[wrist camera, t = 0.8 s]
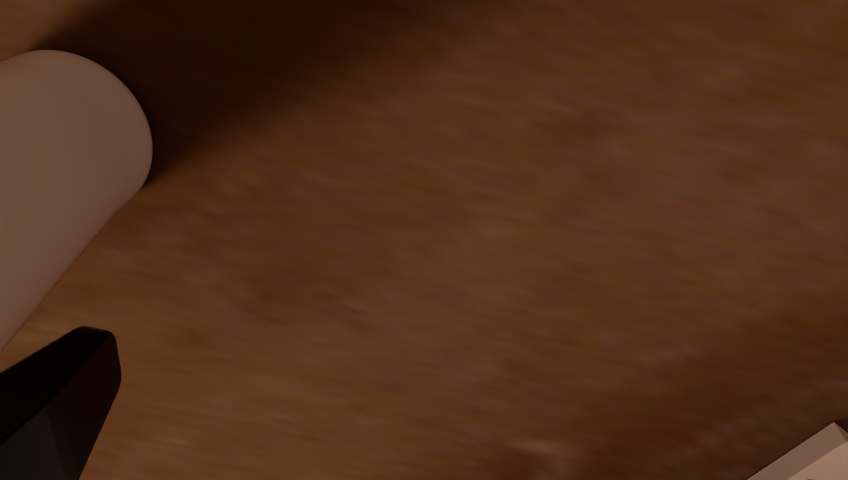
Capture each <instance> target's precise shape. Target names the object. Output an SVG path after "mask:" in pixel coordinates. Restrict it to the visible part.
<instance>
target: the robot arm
mask: <svg viewBox="0 0 848 480" xmlns="http://www.w3.org/2000/svg"><path fill="white" fill-rule="evenodd" d="M120 383H121V367H120V361H119V355H118V349H117V343H116V339H115V336H114V335H113V333H112V332H110V331H107V330H102V329H98V328H93V327H88V326H81V327H78V328H75V329H73V330H72V331H70V332H68V333H67V334H65V335H63V336H62V337H60V338H58V339H56V340H55V341H53V342H51V343H50V344H48V345H46V346H45V347H43V348H41V349H39V350H38V351H36V352H34V353H33V354H31V355H29V356H28V357H26V358H24V359H23V360H21V361H19V362H17V363H16V364H14V365H12V366H11V367H9V368H7V369H6V370H4V371H2V372H0V480H79V478H80V476H81V474H82V471H83V469H84V467H85V465H86V462H87V460H88V458H89V456H90V453H91V451H92V449H93V447H94V444H95V442H96V440H97V438H98V435H99V433H100V431H101V429H102V426H103V424H104V422H105V420H106V417H107V415H108V413H109V411H110V408H111V406H112V404H113V402H114V399H115V397H116V395H117V392H118V390H119V387H120ZM808 480H813V479H808Z"/></svg>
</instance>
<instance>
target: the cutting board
mask: <svg viewBox="0 0 848 480" xmlns="http://www.w3.org/2000/svg"><path fill="white" fill-rule="evenodd" d="M808 479H813V480H848V433H847V432H846V431H844V430H843V429H842V428H841V427H839V426H838V425H837V424H836V423H834V422H833V423H831V424H830V425H828V426H827V427H825V428H824V429H822V430H821V431H819V432H818V433H816V434H815V435H813V436H812V437H810V438H809V439H807V440H806V441H804V442H803V443H801V444H800V445H798V446H797V447H795V448H794V449H792V450H791V451H789V452H788V453H786V454H785V455H783V456H782V457H780V458H779V459H777V460H776V461H774V462H773V463H771V464H770V465H768V466H767V467H765V468H764V469H762V470H761V471H759V472H758V473H756V474H755V475H753V476H752V477H750V478H749V479H747V480H808Z"/></svg>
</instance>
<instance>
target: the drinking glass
mask: <svg viewBox="0 0 848 480" xmlns="http://www.w3.org/2000/svg"><path fill="white" fill-rule="evenodd" d="M152 154H153V144H152V136H151V131H150V127H149V124H148V121H147V118H146V116H145V114H144V112H143V110H142V108H141V106H140V104H139V103H138V101H137V100H136V98H135V97H134V95H133V94H132V93H131V91H130V90H129V89H128V88H127V87H126V86H125V85H124V84H123V82H122V81H120V80H119V79H118V78H117V77H116V76H115V75H114V74H112V73H111V72H110V71H109V70H107V69H106V68H104V67H103V66H101V65H99V64H97V63H96V62H94V61H92V60H90V59H87V58H85V57H82V56H80V55H77V54H74V53H70V52H65V51H59V50H35V51H29V52H25V53H21V54H18V55H15V56H12V57H10V58H7V59H5V60H2V61H0V353H1V352H2V351H3V349H4V348H5V347H6V346H7V345H8V343H9V342H10V341H11V340H12V338H13V337H14V336H15V335H16V333H17V332H18V331H19V330H20V328H21V327H22V326H23V325H24V324H25V322H26V321H27V320H28V319H29V317H30V316H31V315H32V314H33V312H34V311H35V310H36V309H37V307H38V306H39V305H40V304H41V303H42V301H43V300H44V299H45V298H46V296H47V295H48V294H49V293H50V292H51V290H52V289H53V288H54V287H55V285H56V284H57V283H58V282H59V281H60V279H61V278H62V277H63V276H64V274H65V273H66V272H67V271H68V270H69V268H70V267H71V266H72V265H73V264H74V262H75V261H76V260H77V259H78V257H79V256H80V255H81V254H82V253H83V251H84V250H85V249H86V248H87V247H88V245H89V244H90V243H91V242H92V241H93V239H94V238H95V237H96V236H97V235H98V233H99V232H100V231H101V230H102V229H103V228H104V226H105V225H106V224H107V223H108V222H109V220H110V219H111V218H112V217H113V216H114V215H115V214H116V213H117V212H118V211H119V210H120V209H121V208H123V207H124V206H125V205H126V204H127V203H128V202H129V201H130V200H131V199H132V198H133V197H134V196H135V195H136V194H137V192H138V191H139V190H140V188H141V187H142V186H143V184H144V182H145V180H146V178H147V176H148V173H149V170H150V167H151V162H152Z"/></svg>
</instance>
